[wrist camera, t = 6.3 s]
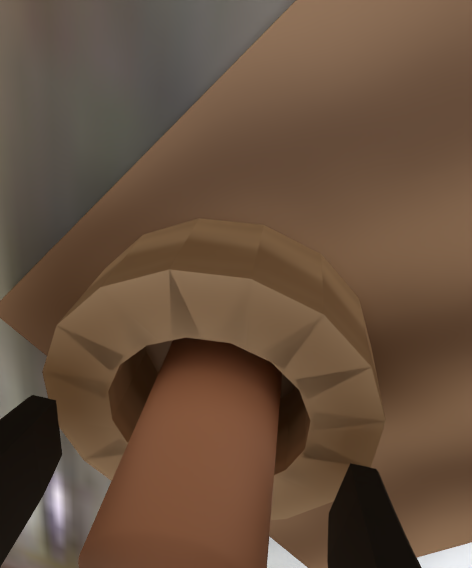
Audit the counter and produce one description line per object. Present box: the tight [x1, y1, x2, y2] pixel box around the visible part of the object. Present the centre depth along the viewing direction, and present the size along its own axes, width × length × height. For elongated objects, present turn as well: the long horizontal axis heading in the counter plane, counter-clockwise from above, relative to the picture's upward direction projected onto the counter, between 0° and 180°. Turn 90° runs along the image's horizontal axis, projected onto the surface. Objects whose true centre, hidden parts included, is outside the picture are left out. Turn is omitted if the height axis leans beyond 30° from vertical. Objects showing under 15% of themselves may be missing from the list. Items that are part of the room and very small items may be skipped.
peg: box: [78, 337, 282, 568], centre depth 11 cm, size 4×4×7 cm
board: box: [0, 0, 472, 568], centre depth 14 cm, size 19×17×1 cm
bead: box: [42, 218, 386, 520], centre depth 13 cm, size 9×9×3 cm
